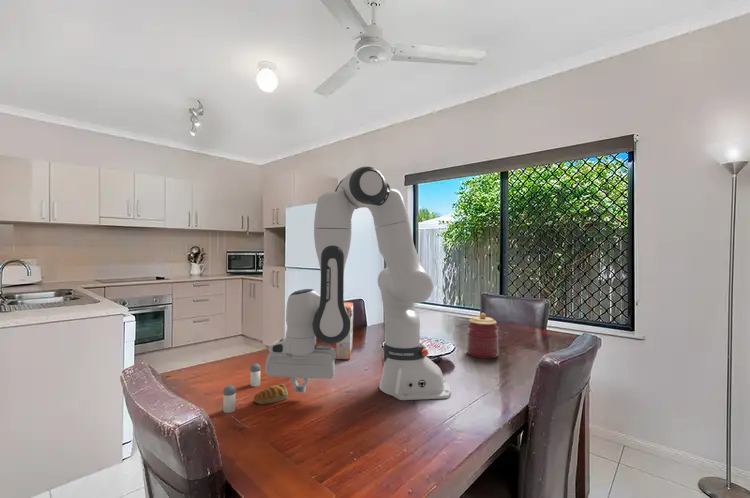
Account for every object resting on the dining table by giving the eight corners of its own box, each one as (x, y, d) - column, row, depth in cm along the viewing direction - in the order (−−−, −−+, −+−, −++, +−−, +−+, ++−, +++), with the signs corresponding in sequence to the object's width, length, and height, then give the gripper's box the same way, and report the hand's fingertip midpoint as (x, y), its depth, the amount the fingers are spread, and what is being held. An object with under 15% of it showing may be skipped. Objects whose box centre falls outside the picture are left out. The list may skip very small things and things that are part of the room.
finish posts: (262, 383, 116) (262, 362, 116) (232, 413, 95) (232, 388, 95) (252, 382, 117) (252, 362, 117) (220, 412, 95) (220, 387, 95)
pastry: (259, 408, 99) (259, 394, 99) (249, 400, 104) (249, 387, 104) (290, 399, 105) (290, 386, 105) (279, 392, 110) (279, 379, 110)
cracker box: (350, 360, 141) (351, 307, 141) (335, 359, 141) (336, 307, 141) (353, 349, 155) (353, 301, 155) (339, 349, 155) (340, 301, 155)
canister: (464, 349, 159) (465, 309, 159) (494, 350, 158) (495, 310, 158) (468, 358, 147) (469, 315, 146) (501, 360, 145) (502, 316, 145)
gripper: (337, 342, 107) (337, 388, 107) (271, 340, 109) (270, 386, 109) (334, 348, 101) (333, 397, 101) (263, 346, 102) (262, 394, 102)
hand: (300, 391), depth 105 cm, fingers closed
